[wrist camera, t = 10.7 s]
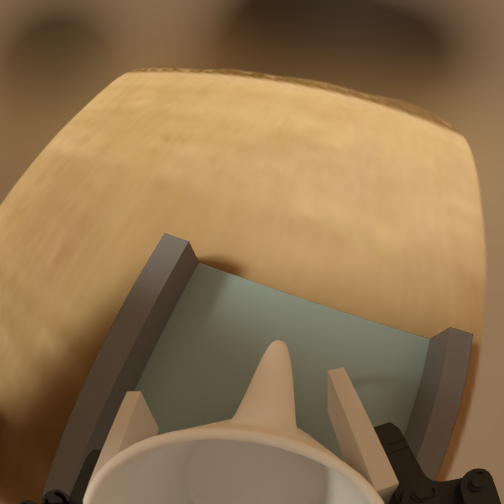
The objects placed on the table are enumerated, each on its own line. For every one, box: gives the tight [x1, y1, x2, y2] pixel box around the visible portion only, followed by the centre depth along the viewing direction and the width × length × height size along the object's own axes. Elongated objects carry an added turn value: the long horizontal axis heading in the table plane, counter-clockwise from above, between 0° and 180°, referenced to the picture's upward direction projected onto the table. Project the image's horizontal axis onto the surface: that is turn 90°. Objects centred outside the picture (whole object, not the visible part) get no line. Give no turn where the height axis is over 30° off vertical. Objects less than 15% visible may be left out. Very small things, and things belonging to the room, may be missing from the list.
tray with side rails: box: [42, 233, 473, 497], centre depth 14 cm, size 22×22×4 cm
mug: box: [83, 340, 384, 504], centre depth 9 cm, size 9×12×11 cm
